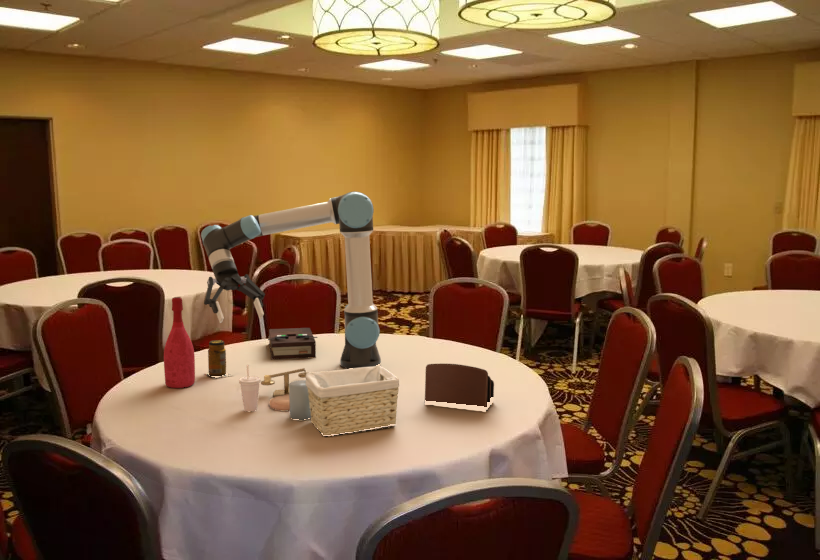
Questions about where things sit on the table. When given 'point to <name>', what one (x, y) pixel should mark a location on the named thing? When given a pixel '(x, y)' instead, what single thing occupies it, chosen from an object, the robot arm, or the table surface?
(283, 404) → the dish
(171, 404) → the table surface
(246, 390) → the smoothie
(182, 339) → the wine bottle
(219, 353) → the condiment
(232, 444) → the table surface
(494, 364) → the table surface
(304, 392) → the grey domed cylinder
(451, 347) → the table surface
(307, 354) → the dark electronic device
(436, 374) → the toaster
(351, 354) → the robot arm
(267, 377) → the balance
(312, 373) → the storage basket
